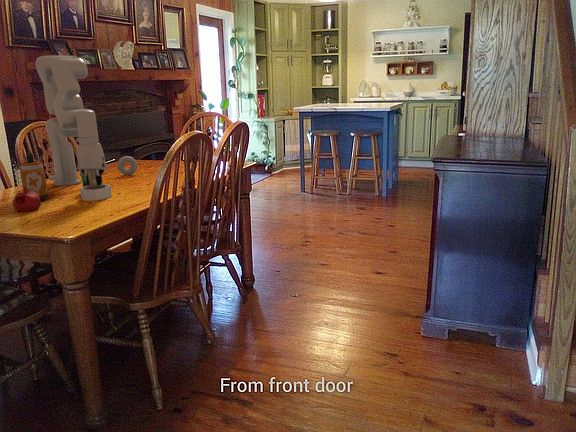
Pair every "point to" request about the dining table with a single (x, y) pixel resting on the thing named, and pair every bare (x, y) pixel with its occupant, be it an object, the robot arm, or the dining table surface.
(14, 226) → the dining table surface
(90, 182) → the grey rectangular block
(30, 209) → the pomegranate
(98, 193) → the white octagonal tray
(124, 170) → the donut
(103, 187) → the hollow square tube
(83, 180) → the food container
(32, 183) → the canister
